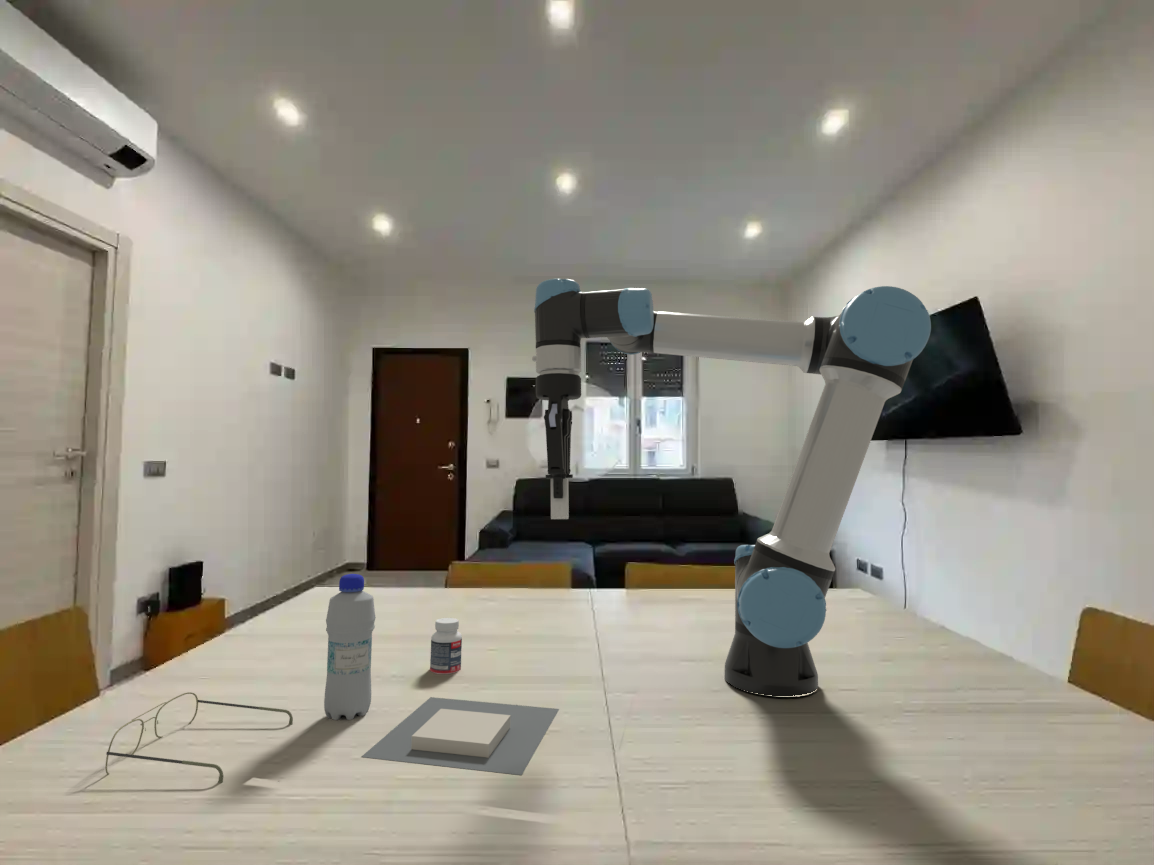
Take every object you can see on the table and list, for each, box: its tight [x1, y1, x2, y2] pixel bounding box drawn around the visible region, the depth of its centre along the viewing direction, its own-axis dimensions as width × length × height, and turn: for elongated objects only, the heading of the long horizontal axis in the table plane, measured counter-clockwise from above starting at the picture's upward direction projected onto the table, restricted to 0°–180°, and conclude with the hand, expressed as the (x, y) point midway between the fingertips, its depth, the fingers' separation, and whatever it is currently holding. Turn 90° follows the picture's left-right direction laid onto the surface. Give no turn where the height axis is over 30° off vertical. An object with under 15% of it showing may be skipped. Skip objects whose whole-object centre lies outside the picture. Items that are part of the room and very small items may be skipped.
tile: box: [411, 709, 511, 758], centre depth 80 cm, size 10×2×9 cm
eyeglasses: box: [104, 691, 294, 784], centre depth 78 cm, size 16×15×5 cm
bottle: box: [323, 573, 376, 721], centre depth 89 cm, size 7×7×20 cm
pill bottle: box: [429, 617, 463, 675], centre depth 108 cm, size 5×5×9 cm
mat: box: [360, 696, 560, 776], centre depth 83 cm, size 20×20×1 cm
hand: (559, 518), depth 101 cm, fingers closed
